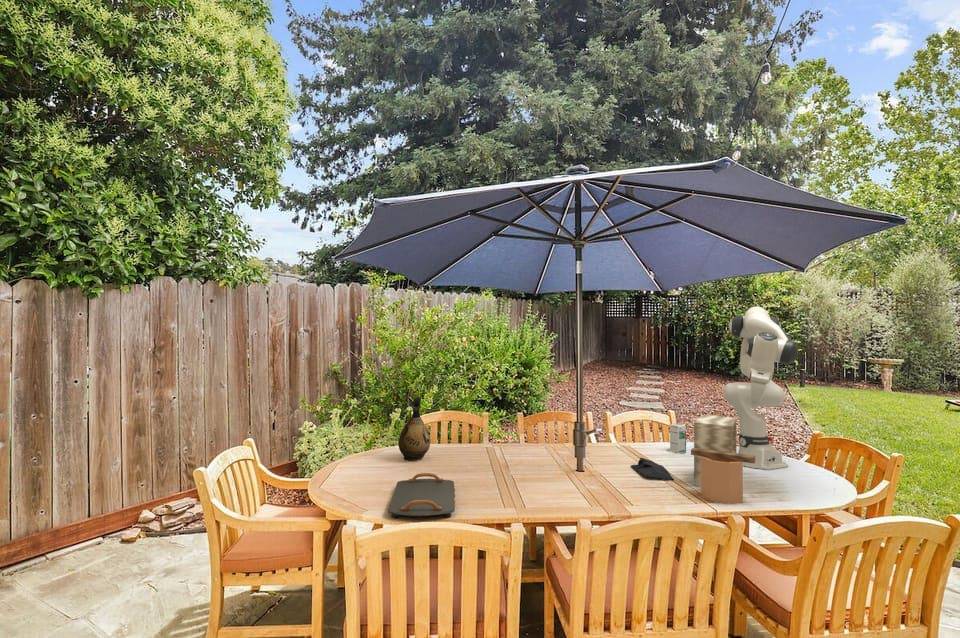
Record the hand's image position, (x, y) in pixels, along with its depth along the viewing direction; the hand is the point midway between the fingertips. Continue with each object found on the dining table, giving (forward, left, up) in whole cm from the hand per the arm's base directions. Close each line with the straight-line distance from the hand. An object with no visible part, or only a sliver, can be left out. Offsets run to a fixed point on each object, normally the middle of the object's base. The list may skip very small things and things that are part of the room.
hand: (753, 403), depth 204 cm
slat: (+22, +9, -19) cm, 30 cm away
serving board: (+135, -11, -35) cm, 140 cm away
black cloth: (+31, -25, -35) cm, 53 cm away
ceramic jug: (+132, -70, -34) cm, 154 cm away
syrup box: (-4, -55, -34) cm, 65 cm away
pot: (+22, +9, -34) cm, 41 cm away
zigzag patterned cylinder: (+11, -8, -34) cm, 37 cm away
